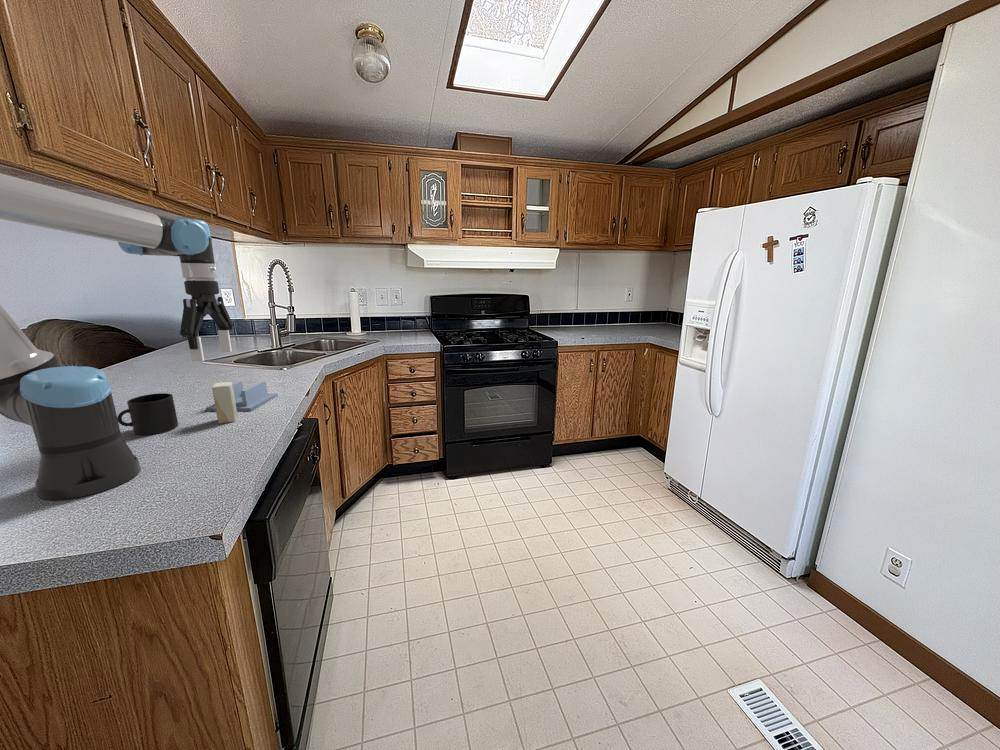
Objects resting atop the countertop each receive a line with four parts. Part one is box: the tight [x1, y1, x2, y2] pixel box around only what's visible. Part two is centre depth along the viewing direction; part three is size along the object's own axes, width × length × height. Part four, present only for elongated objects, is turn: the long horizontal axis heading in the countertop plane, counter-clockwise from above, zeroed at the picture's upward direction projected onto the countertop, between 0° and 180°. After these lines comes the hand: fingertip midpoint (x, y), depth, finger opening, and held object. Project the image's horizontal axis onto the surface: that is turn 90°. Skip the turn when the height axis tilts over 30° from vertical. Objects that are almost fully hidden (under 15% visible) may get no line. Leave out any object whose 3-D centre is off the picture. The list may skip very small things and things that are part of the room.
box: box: [211, 381, 238, 424], centre depth 117 cm, size 5×4×11 cm
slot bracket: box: [205, 380, 279, 412], centre depth 133 cm, size 16×14×6 cm
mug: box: [117, 392, 179, 436], centre depth 109 cm, size 9×12×9 cm
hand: (213, 356), depth 115 cm, fingers open, 13 cm apart
